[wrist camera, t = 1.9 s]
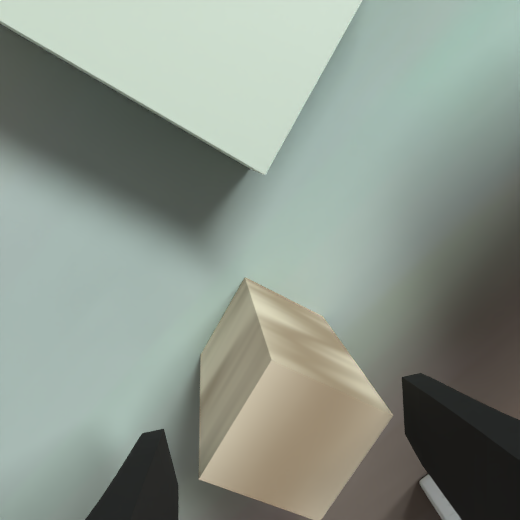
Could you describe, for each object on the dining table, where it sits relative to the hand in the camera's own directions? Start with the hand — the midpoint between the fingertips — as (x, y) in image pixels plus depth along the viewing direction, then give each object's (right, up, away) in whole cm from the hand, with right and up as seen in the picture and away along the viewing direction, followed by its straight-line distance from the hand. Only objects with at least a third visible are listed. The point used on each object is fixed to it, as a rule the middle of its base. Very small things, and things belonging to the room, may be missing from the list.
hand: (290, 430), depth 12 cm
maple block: (-1, +2, +6) cm, 6 cm away
